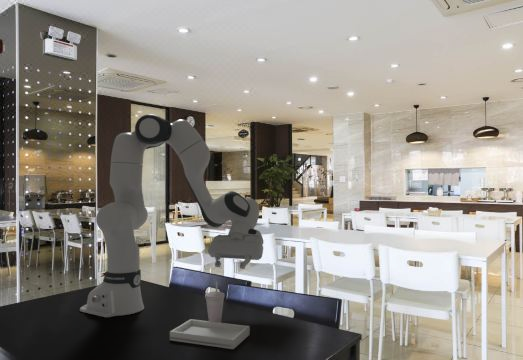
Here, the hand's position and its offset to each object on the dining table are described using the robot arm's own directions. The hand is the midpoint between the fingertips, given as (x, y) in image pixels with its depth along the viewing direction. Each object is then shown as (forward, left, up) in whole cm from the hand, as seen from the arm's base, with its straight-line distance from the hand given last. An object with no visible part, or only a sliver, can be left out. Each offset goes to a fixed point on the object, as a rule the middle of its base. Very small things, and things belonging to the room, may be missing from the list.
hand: (229, 267), depth 145 cm
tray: (+4, -22, -16) cm, 28 cm away
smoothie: (0, -11, -16) cm, 20 cm away
